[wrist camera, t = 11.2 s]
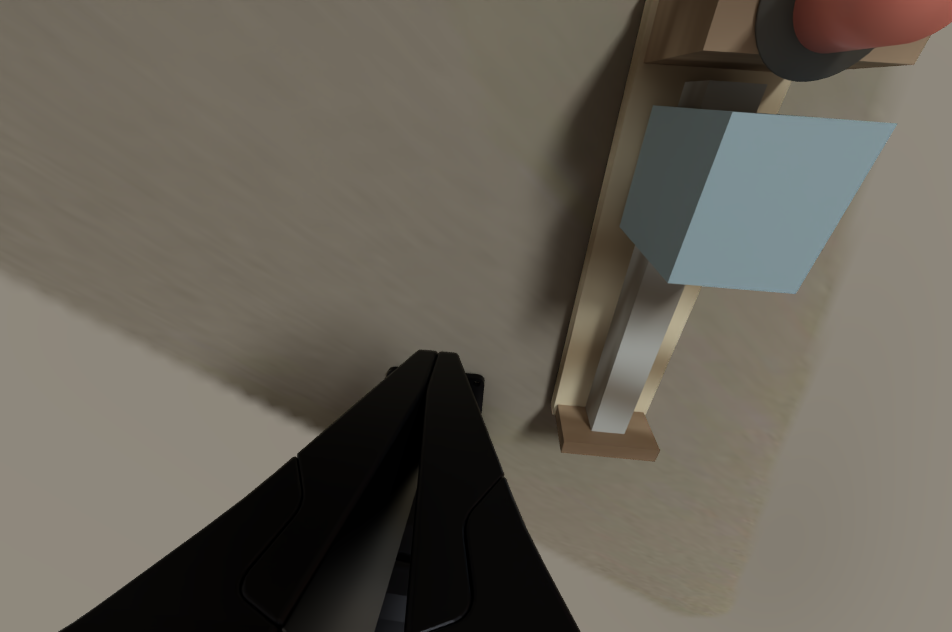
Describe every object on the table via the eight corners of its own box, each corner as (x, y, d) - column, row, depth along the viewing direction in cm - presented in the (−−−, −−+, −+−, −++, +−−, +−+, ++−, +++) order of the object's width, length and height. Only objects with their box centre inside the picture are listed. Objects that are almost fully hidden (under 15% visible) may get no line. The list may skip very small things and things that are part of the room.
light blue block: (708, 234, 17) (795, 293, 12) (619, 226, 17) (667, 283, 12) (758, 112, 14) (897, 123, 9) (653, 105, 15) (732, 111, 9)
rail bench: (637, 412, 25) (671, 494, 20) (550, 403, 25) (562, 484, 20) (819, -26, 13) (1023, -103, 8) (654, -36, 13) (748, -118, 8)
